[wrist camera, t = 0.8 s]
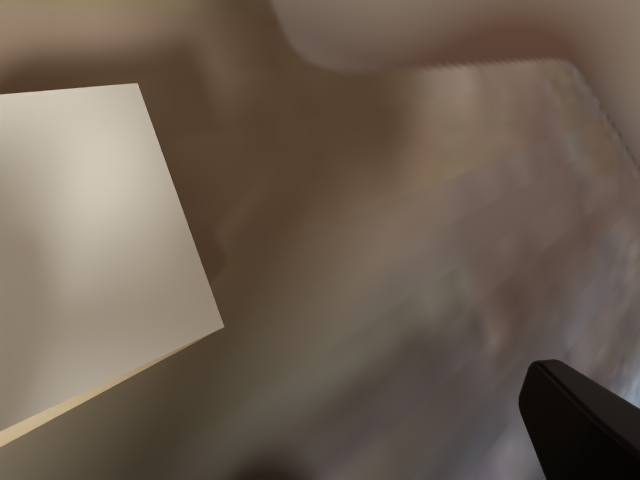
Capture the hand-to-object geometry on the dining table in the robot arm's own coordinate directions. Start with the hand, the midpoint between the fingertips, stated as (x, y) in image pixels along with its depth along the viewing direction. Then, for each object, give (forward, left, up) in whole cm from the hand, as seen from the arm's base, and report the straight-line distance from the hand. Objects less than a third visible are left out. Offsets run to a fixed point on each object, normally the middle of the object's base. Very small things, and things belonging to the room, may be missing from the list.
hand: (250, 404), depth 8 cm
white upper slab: (+3, +2, -10) cm, 11 cm away
